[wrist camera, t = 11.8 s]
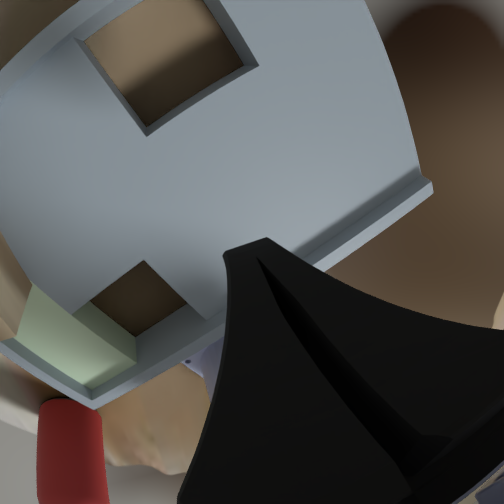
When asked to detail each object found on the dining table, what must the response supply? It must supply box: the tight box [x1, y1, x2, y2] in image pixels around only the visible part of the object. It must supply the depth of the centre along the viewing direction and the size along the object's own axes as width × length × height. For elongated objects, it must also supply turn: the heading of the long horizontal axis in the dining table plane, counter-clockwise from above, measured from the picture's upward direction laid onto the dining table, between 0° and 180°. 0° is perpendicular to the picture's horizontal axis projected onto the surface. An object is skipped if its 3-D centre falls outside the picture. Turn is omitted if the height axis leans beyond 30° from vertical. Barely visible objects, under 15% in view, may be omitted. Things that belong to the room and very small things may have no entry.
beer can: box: [36, 398, 110, 504], centre depth 20 cm, size 7×7×12 cm
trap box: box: [0, 0, 433, 410], centre depth 15 cm, size 19×29×4 cm, turn 119°
